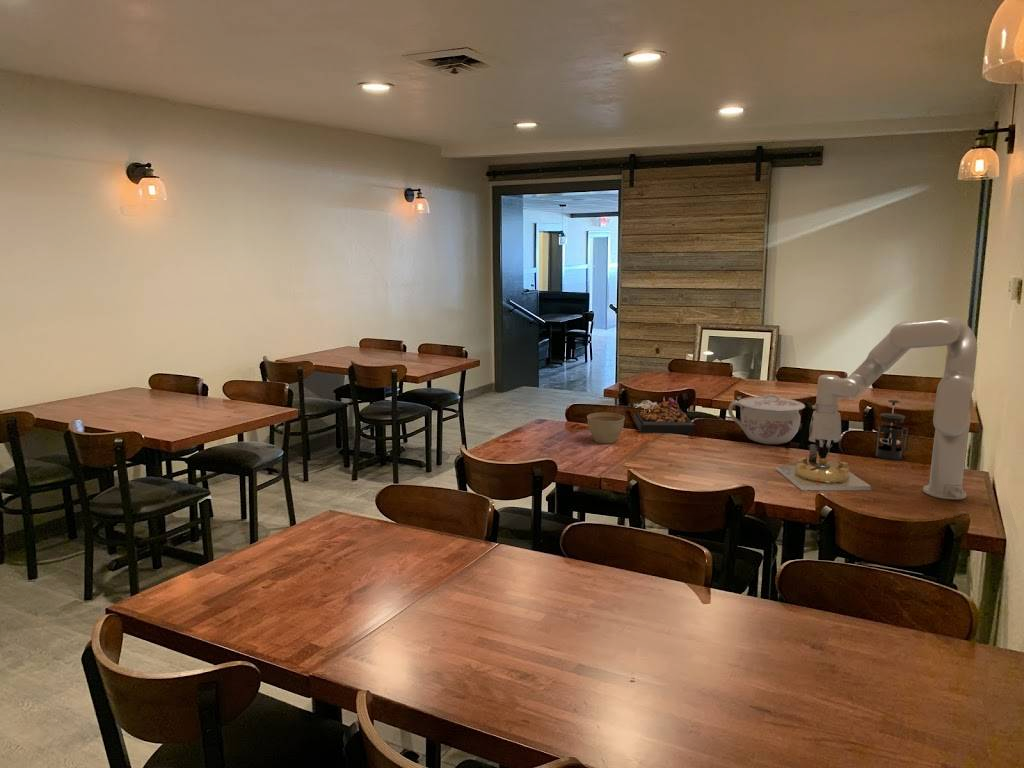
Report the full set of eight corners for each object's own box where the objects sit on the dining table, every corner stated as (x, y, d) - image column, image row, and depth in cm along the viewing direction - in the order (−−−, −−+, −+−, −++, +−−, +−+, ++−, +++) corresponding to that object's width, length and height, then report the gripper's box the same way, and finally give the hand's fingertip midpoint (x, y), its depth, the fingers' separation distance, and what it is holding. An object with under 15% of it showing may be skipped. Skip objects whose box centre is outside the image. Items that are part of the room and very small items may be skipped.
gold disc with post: (859, 476, 257) (861, 452, 256) (831, 485, 247) (833, 460, 245) (813, 464, 272) (814, 441, 270) (784, 473, 261) (786, 449, 260)
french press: (878, 459, 285) (883, 402, 281) (870, 452, 294) (875, 397, 290) (909, 460, 283) (915, 403, 279) (900, 453, 292) (906, 398, 288)
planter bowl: (583, 444, 307) (583, 419, 305) (590, 435, 322) (590, 411, 320) (621, 447, 303) (621, 422, 301) (626, 437, 318) (627, 413, 316)
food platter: (628, 412, 370) (628, 392, 369) (676, 412, 370) (677, 392, 368) (640, 434, 326) (641, 412, 324) (694, 434, 325) (695, 412, 323)
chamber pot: (816, 445, 305) (820, 397, 301) (765, 452, 295) (768, 402, 291) (770, 430, 331) (773, 386, 327) (721, 436, 321) (724, 390, 317)
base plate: (870, 490, 248) (871, 485, 248) (801, 490, 248) (801, 485, 248) (839, 469, 272) (839, 464, 271) (776, 469, 271) (776, 465, 271)
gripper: (809, 410, 260) (805, 459, 263) (851, 411, 259) (847, 460, 262) (802, 406, 267) (798, 453, 270) (843, 406, 266) (838, 454, 270)
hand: (822, 456), depth 266 cm, fingers closed
